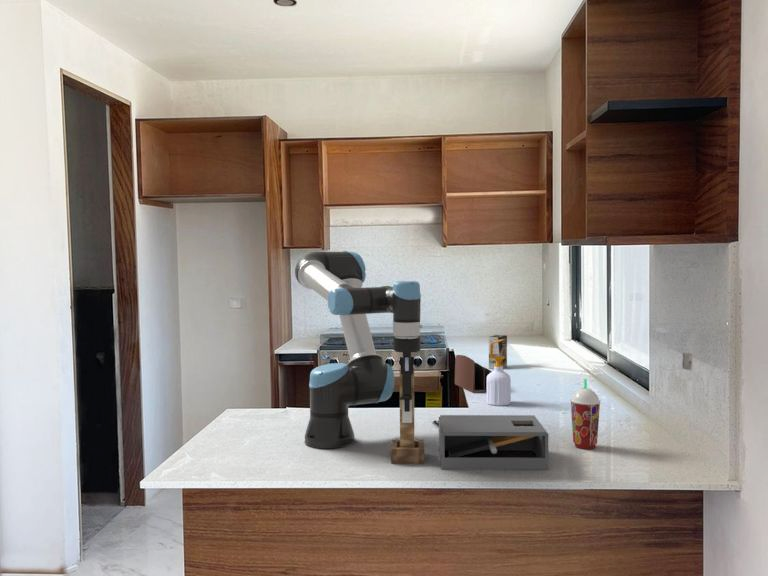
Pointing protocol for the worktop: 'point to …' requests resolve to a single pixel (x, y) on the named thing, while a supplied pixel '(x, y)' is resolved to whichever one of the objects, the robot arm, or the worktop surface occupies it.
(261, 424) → the worktop surface
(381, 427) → the worktop surface
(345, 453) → the worktop surface
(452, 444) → the box
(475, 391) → the letter holder
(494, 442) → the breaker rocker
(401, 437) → the light wood square bar
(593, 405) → the smoothie
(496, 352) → the coffee box
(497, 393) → the soap bottle
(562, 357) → the worktop surface
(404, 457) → the square wooden socket
